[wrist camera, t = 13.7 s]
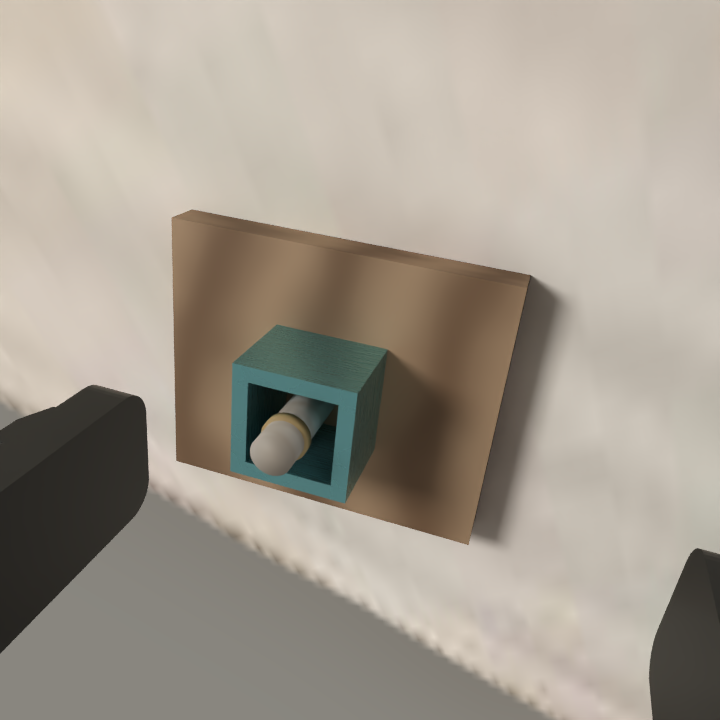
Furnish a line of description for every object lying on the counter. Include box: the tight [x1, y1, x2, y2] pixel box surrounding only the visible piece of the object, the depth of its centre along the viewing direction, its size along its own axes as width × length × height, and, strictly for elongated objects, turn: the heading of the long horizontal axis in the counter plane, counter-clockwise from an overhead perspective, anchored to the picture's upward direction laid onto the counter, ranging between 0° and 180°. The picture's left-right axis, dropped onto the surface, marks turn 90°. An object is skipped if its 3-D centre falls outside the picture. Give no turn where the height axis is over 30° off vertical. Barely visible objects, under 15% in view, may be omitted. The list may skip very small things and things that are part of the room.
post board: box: [172, 210, 531, 545], centre depth 33 cm, size 18×15×9 cm
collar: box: [230, 325, 388, 504], centre depth 33 cm, size 6×6×5 cm
